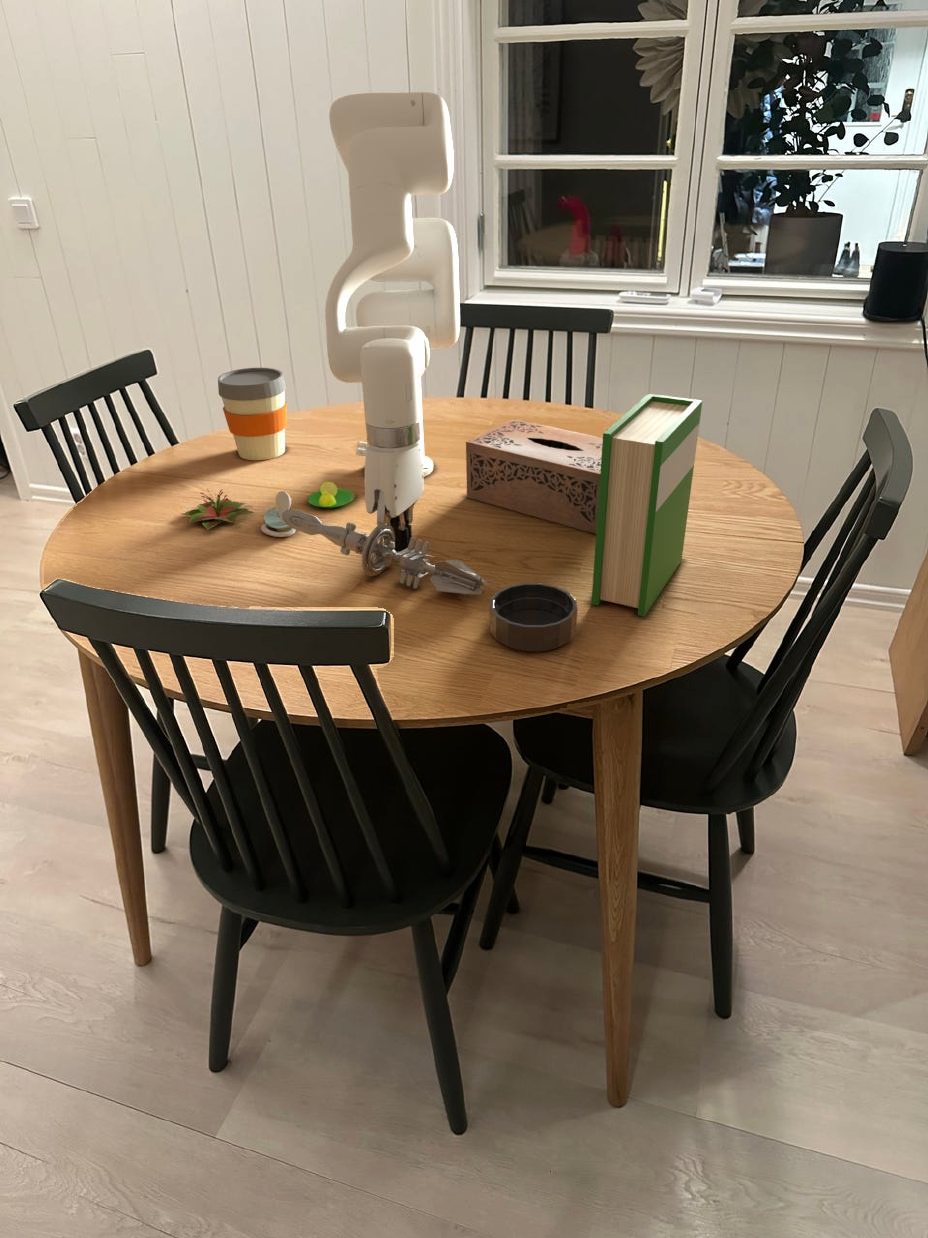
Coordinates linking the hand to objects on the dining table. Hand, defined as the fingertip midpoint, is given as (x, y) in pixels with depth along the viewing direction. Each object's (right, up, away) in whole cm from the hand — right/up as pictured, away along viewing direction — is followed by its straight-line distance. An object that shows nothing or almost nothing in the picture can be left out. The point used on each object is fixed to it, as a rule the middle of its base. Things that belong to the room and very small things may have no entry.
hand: (400, 548), depth 127 cm
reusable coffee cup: (-30, +22, +40) cm, 55 cm away
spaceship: (-3, -4, -4) cm, 7 cm away
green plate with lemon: (-13, +10, +18) cm, 25 cm away
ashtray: (+18, -12, -18) cm, 29 cm away
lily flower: (-32, +6, +14) cm, 35 cm away
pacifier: (-20, +4, +9) cm, 22 cm away
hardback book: (+34, -5, -8) cm, 36 cm away
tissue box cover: (+25, +10, +17) cm, 31 cm away
